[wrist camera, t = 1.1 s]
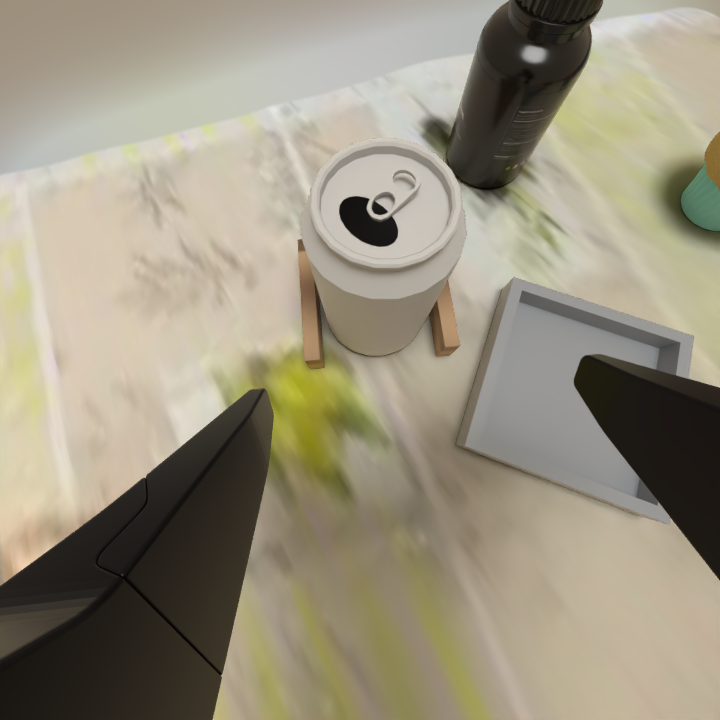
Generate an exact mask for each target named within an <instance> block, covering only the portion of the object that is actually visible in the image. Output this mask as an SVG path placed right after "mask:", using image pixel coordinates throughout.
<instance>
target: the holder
mask: <svg viewBox="0 0 720 720" xmlns="http://www.w3.org/2000/svg"><path fill="white" fill-rule="evenodd" d="M298 253H299V270H300V288H301V305H302V323H303V340H304V358H305V362H306V363H307V365H308V366H309V367H310V368H311V369H314V368H324V357H323V343H322V329H321V315H320V301H319V293H318V289H317V286H316V283H315V280H314V276H313V273H312V270H311V267H310V263H309V260H308V257H307V254H306V250H305V247H304V244H303V241H302V239H300V240H298ZM429 314H430V320H431V326H432V332H433V338H434V344H435V351H436V357H437V356H447V355H451V354H452V353H453V352H454V351H455V350H456V349H457V348H458V347H459V346H460V342H459V337H458V332H457V326H456V321H455V315H454V310H453V305H452V299H451V294H450V288H449V283H448V280H447V282H446V284H445V286H444V288H443V289H442V291H441V293H440V295H439V297H438V299H437V300H436V302H435V304H434V306H433V308H432V310H431V311H430V313H429Z"/></svg>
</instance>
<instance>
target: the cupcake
mask: <svg viewBox="0 0 720 720" xmlns="http://www.w3.org/2000/svg"><path fill="white" fill-rule="evenodd" d="M681 207H682V210H683V212H684V213H685V215H686V216H687V217H688V219H689V220H690V221H692V222H693V223H694V224H696V225H697V226H699V227H701V228H704V229H707V230H711V231H720V132H719V133H718V134H717V135H716V136H715V137H714V138H713V140H712V141H711V142H710V144H709V146H708V148H707V149H706V152H705V164H704V166H703V167H702V169H701V170H700V171H699V173H698V174H697V175H696V177H695V178H694V179H693V181H692V182H691V183H690V184H689V185H688V187H687V188H686V189H685V190H684V192H683V194H682V196H681Z"/></svg>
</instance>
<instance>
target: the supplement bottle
mask: <svg viewBox="0 0 720 720" xmlns="http://www.w3.org/2000/svg"><path fill="white" fill-rule="evenodd" d="M602 4H603V0H509V1H508V2H506V3H505V4H504V5H502V6H501V7H500V8H499V9H498V10H497V11H496V12H495V13H494V14H493V15H492V16H491V17H490V19H489V20H488V22H487V23H486V25H485V26H484V28H483V30H482V33H481V36H480V39H479V42H478V45H477V49H476V51H475V55H474V58H473V62H472V65H471V68H470V72H469V75H468V78H467V82H466V85H465V89H464V92H463V95H462V99H461V102H460V105H459V109H458V112H457V115H456V119H455V122H454V126H453V129H452V132H451V136H450V140H449V143H448V148H447V157H448V162H449V165H450V167H451V169H452V170H453V172H454V173H455V174H456V175H457V176H458V177H459V178H460V179H461V180H463V181H464V182H466V183H468V184H470V185H472V186H476V187H480V188H494V187H499V186H502V185H504V184H506V183H508V182H510V181H512V180H513V179H514V178H515V177H516V176H517V175H518V174H519V173H520V172H521V170H522V169H523V167H524V166H525V164H526V162H527V161H528V159H529V158H530V156H531V155H532V153H533V151H534V150H535V148H536V146H537V145H538V143H539V141H540V140H541V138H542V137H543V135H544V133H545V132H546V130H547V128H548V127H549V125H550V123H551V122H552V120H553V119H554V117H555V115H556V114H557V112H558V110H559V109H560V107H561V105H562V104H563V102H564V101H565V99H566V97H567V96H568V94H569V92H570V91H571V89H572V87H573V86H574V84H575V83H576V81H577V79H578V78H579V76H580V74H581V72H582V71H583V69H584V67H585V65H586V63H587V61H588V58H589V55H590V51H591V44H592V34H591V29H590V24H591V23H592V22H593V20H594V19H595V17H596V15H597V14H598V12H599V10H600V8H601V6H602Z"/></svg>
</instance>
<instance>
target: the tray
mask: <svg viewBox="0 0 720 720" xmlns="http://www.w3.org/2000/svg"><path fill="white" fill-rule="evenodd" d="M693 341H694V336H692V335H689V334H686V333H683V332H680V331H677V330H674V329H671V328H668V327H665V326H662V325H659V324H656V323H653V322H650V321H647V320H643V319H640V318H637V317H634V316H631V315H628V314H625V313H622V312H619V311H616V310H613V309H610V308H607V307H604V306H601V305H598V304H594V303H591V302H588V301H585V300H582V299H579V298H576V297H573V296H570V295H567V294H564V293H561V292H558V291H555V290H552V289H549V288H545V287H542V286H539V285H536V284H533V283H530V282H527V281H524V280H521V279H518V278H515V277H514V278H513V279H512V280H511V281H510V282H509V283H508V284H507V285H506V286H505V287H504V288H503V289H502V291H501V294H500V297H499V301H498V304H497V307H496V311H495V314H494V317H493V321H492V324H491V328H490V331H489V334H488V338H487V341H486V344H485V348H484V351H483V354H482V358H481V361H480V364H479V368H478V371H477V374H476V378H475V381H474V385H473V388H472V391H471V395H470V398H469V401H468V405H467V408H466V411H465V415H464V418H463V421H462V425H461V428H460V431H459V435H458V438H457V441H456V445H457V446H459V447H462V448H465V449H467V450H470V451H472V452H475V453H478V454H480V455H483V456H485V457H488V458H491V459H493V460H496V461H498V462H501V463H504V464H506V465H509V466H511V467H514V468H517V469H519V470H522V471H524V472H527V473H529V474H532V475H535V476H537V477H540V478H542V479H545V480H548V481H550V482H553V483H555V484H558V485H561V486H563V487H566V488H568V489H571V490H574V491H576V492H579V493H581V494H584V495H587V496H589V497H592V498H594V499H597V500H599V501H602V502H605V503H607V504H610V505H612V506H615V507H618V508H620V509H623V510H625V511H628V512H631V513H633V514H636V515H638V516H641V517H645V518H648V519H652V520H655V521H659V522H662V523H665V524H669V523H670V516H669V515H668V514H667V513H666V511H665V510H664V509H663V507H662V506H661V505H660V504H659V502H658V501H657V500H656V499H655V497H654V496H653V495H652V493H651V492H650V491H649V490H648V488H647V487H646V486H645V484H644V483H643V482H642V481H641V479H640V478H639V477H638V476H637V474H636V473H635V472H634V470H633V469H632V468H631V467H630V465H629V464H628V463H627V462H626V460H625V459H624V458H623V456H622V455H621V454H620V453H619V451H618V450H617V449H616V448H615V446H614V445H613V444H612V442H611V441H610V440H609V439H608V437H607V436H606V435H605V433H604V432H603V430H602V429H601V427H600V426H599V424H598V423H597V421H596V420H595V418H594V417H593V415H592V413H591V412H590V410H589V409H588V407H587V406H586V404H585V402H584V401H583V399H582V398H581V396H580V395H579V393H578V391H577V390H576V388H575V386H574V377H575V374H576V371H577V368H578V365H579V362H580V360H581V358H582V357H583V356H585V355H591V354H603V355H606V356H610V357H613V358H617V359H620V360H624V361H627V362H631V363H634V364H638V365H641V366H645V367H648V368H652V369H656V370H659V371H663V372H666V373H670V374H673V375H677V376H680V377H684V378H687V379H689V371H690V364H691V356H692V348H693Z"/></svg>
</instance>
